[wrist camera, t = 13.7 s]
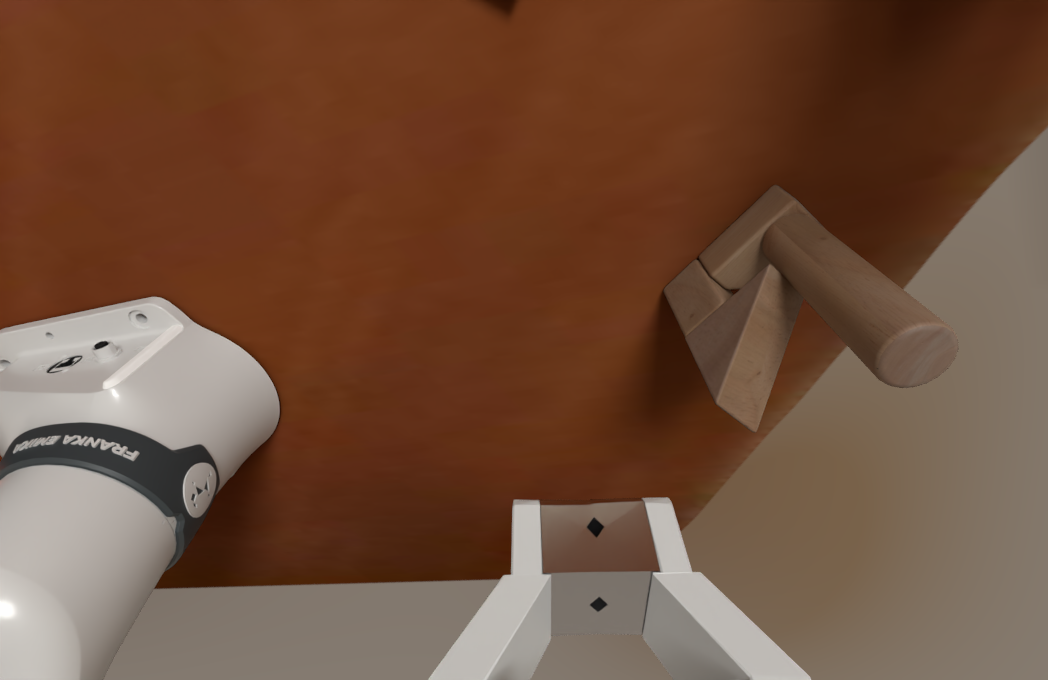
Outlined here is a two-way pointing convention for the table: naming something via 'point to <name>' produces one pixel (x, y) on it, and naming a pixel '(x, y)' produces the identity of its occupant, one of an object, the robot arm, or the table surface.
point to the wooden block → (795, 307)
